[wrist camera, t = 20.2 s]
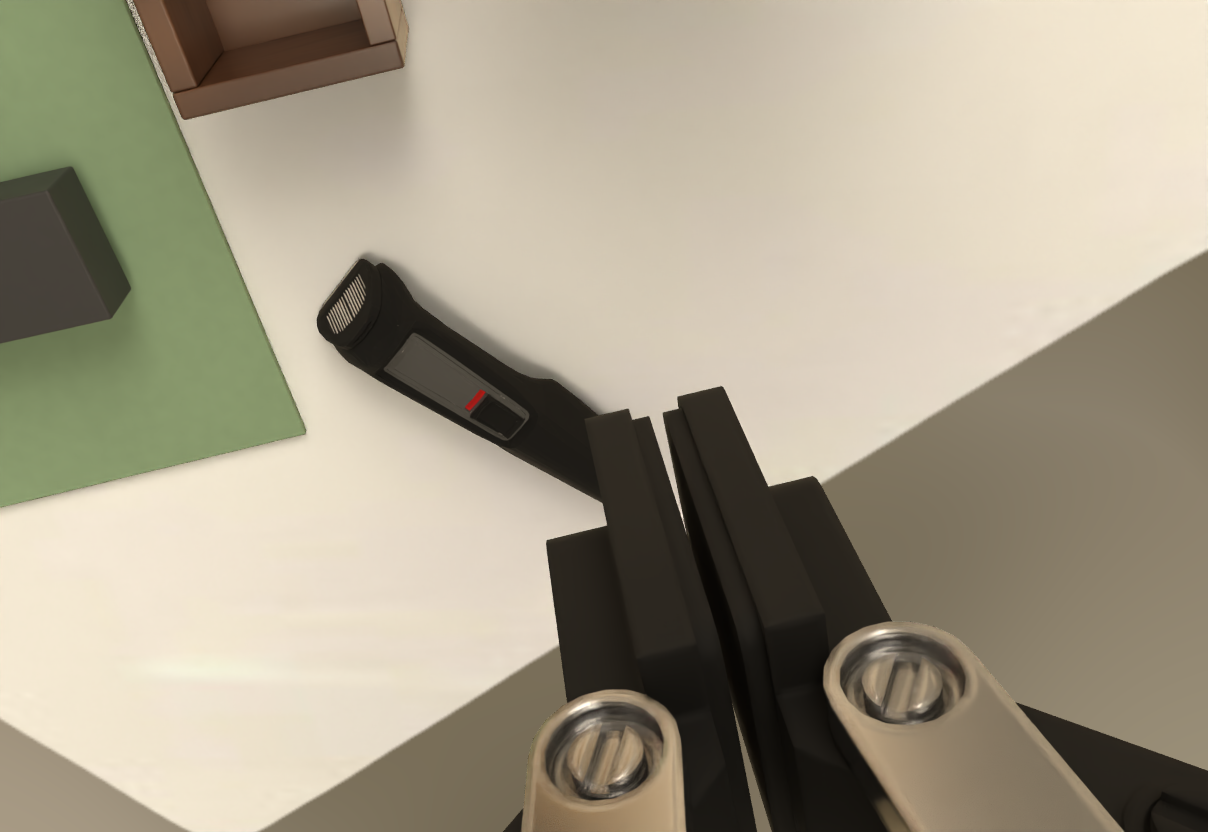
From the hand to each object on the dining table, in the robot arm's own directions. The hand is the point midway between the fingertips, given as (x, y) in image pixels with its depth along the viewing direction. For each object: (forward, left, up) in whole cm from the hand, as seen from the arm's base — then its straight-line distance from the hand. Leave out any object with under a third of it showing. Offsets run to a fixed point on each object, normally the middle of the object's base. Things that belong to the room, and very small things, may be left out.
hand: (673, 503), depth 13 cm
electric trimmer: (+13, -4, -27) cm, 31 cm away
